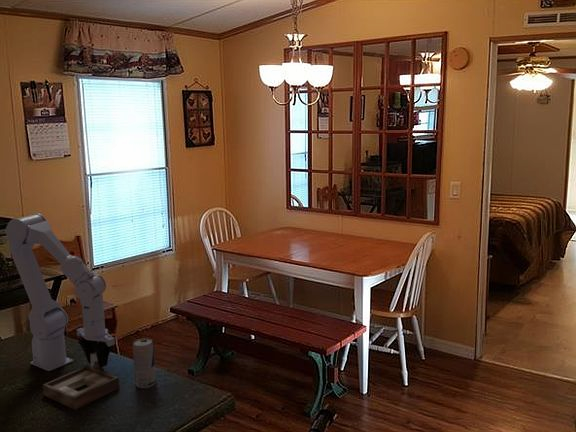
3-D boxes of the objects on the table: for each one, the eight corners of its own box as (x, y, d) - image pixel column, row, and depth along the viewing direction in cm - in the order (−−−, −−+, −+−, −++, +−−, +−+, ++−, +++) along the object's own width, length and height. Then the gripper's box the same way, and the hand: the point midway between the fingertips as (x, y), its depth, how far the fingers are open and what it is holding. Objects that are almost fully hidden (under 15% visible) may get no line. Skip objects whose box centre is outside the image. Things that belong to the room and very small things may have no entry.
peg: (88, 369, 162) (87, 353, 161) (99, 364, 165) (97, 348, 164) (96, 372, 160) (95, 355, 159) (107, 367, 163) (105, 351, 162)
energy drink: (157, 379, 155) (155, 337, 153) (153, 388, 150) (151, 345, 148) (138, 379, 155) (135, 338, 153) (133, 389, 150) (130, 346, 147)
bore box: (43, 395, 147) (42, 384, 147) (88, 375, 158) (87, 365, 158) (75, 409, 140) (74, 398, 139) (119, 387, 150) (118, 377, 150)
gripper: (122, 319, 159) (125, 364, 161) (89, 309, 167) (93, 353, 169) (101, 327, 153) (105, 374, 155) (68, 317, 161) (72, 362, 164)
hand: (97, 364), depth 162 cm, fingers open, 4 cm apart
